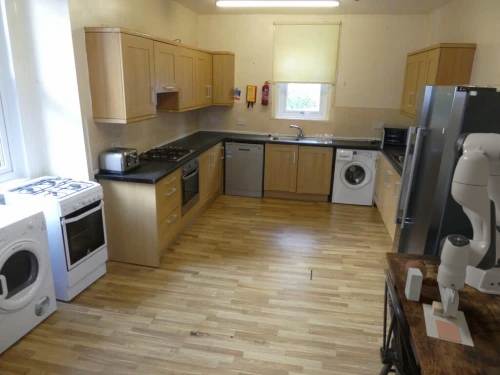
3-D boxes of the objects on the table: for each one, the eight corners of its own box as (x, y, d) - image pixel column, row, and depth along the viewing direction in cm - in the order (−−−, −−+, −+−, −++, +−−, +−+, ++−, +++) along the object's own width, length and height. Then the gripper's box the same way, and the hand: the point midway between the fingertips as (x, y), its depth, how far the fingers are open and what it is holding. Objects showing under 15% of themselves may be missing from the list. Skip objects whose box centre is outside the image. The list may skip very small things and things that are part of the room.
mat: (462, 313, 135) (463, 311, 135) (473, 348, 117) (474, 346, 117) (422, 304, 140) (422, 303, 140) (427, 337, 122) (427, 335, 122)
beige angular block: (455, 312, 134) (456, 305, 133) (457, 319, 130) (458, 312, 129) (431, 307, 137) (433, 301, 136) (433, 314, 133) (434, 307, 132)
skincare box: (418, 302, 141) (423, 276, 138) (407, 301, 142) (411, 274, 139) (415, 294, 147) (419, 268, 144) (404, 292, 148) (408, 267, 144)
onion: (417, 282, 162) (427, 262, 161) (423, 288, 152) (434, 267, 151) (397, 272, 163) (407, 253, 162) (402, 277, 154) (413, 257, 153)
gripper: (466, 295, 119) (458, 330, 123) (456, 267, 137) (449, 298, 141) (445, 291, 121) (438, 325, 125) (438, 264, 140) (432, 294, 143)
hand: (444, 310), depth 133 cm, fingers closed on beige angular block, 4 cm apart
